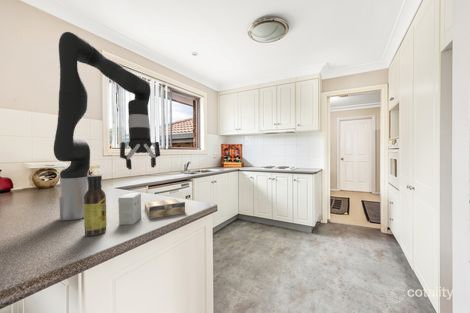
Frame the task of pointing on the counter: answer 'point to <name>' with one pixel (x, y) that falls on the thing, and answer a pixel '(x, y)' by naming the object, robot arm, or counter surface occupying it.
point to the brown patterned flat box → (164, 208)
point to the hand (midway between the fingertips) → (141, 168)
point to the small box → (129, 208)
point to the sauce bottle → (94, 207)
